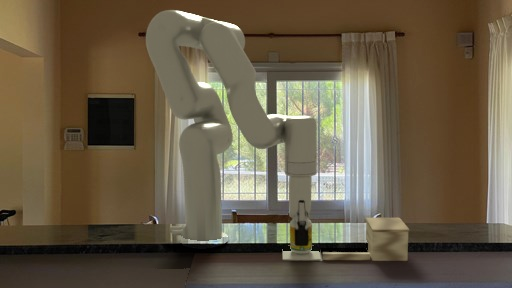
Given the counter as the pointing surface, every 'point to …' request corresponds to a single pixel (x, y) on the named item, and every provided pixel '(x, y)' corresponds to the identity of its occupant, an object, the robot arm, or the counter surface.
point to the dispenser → (379, 242)
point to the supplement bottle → (292, 237)
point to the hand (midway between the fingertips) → (300, 240)
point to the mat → (301, 255)
